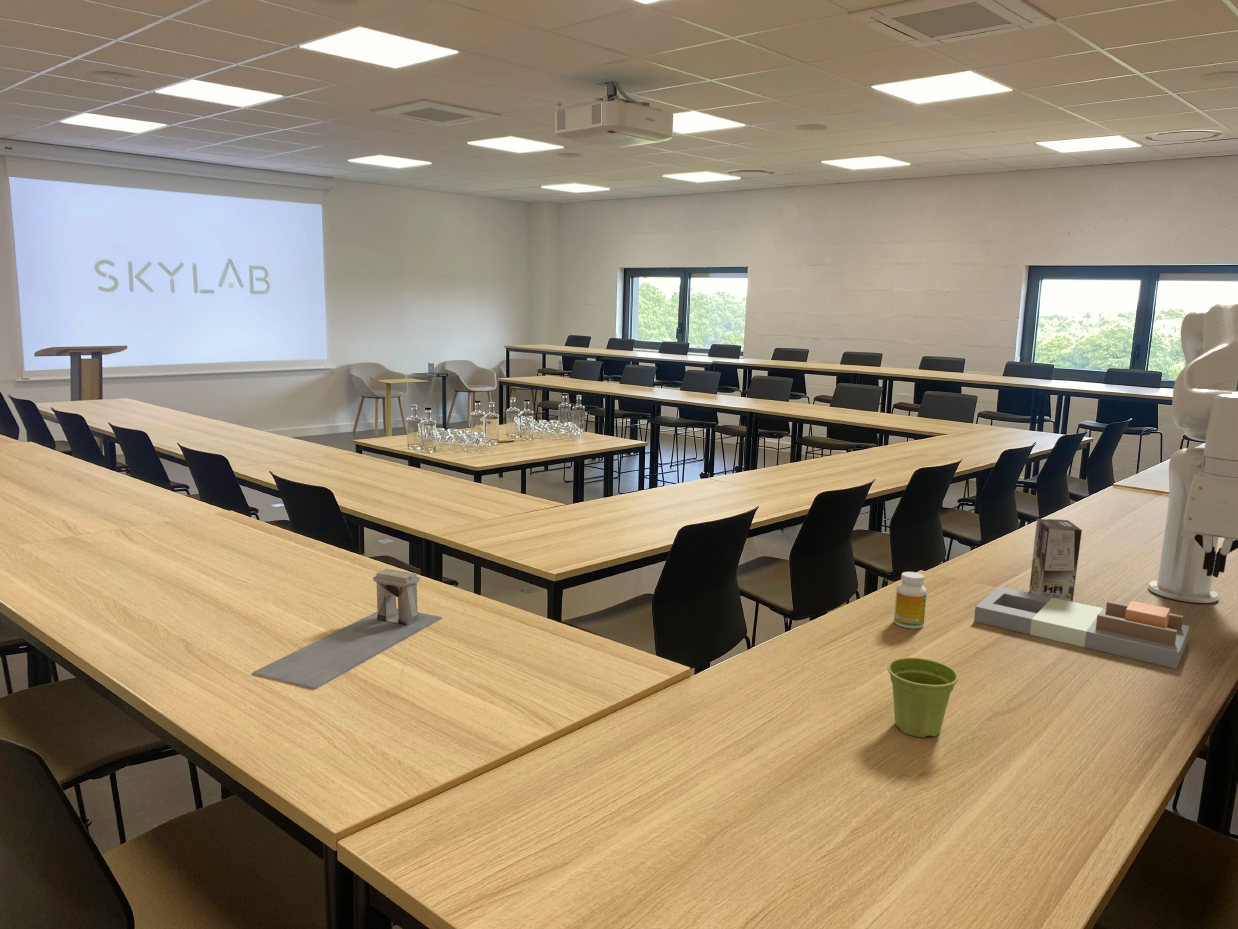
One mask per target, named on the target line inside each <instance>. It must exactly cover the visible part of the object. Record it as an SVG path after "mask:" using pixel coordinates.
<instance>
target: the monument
mask: <svg viewBox="0 0 1238 929" xmlns="http://www.w3.org/2000/svg"><path fill="white" fill-rule="evenodd" d="M375 575H376V576H373V578H372V580H373V582H375V583H376V604H377V605H376V606H377V607H376V608H377V611H375V612H373V613H371V614H369V615H367V616H365V617H363V618H360V619H358V620H357V621H354V622H353V623H350V624H349V625H347V626H345V627H342V628H340V629H338V630H336V631H334V632H332V633H330V634H328V635H326V636H324V637H322V638H320V639H318V640H316V641H314V642H311V643H310V644H308V645H306V646H304V647H301V648H300V649H298V650H295V651H293V652H291V653H289V654H288V655H286V656H285V655H284V656H283V657H281V658H279V659H277V660H275V661H273V662H271V663H268V664H267V665H264V666H263V667H261V668H258V669H257V670H255V671H253V672H252V675H254V676H259V677H263V678H266V679H271V680H275V681H278V682H284V683H286V684H287V683H288V684H291V685H296V686H300V687H303V688H307V689H311V690H317V689H319V688H321V687H322V686H324V685H326V684H328V683H329V682H331V681H333V680H335V679H337V678H338V677H340V676H342V675H343V674H345V673H347V672H350V671H351V670H353V669H354V668H356V667H358V666H359V665H361V664H364V663H365V662H367V661H369V660H371V659H372V658H375V657H376V656H378V655H379V654H382V653H384V652H385V651H387V650H388V649H390V648H393V646H396V645H397V644H399V643H401V642H403V641H405V640H406V639H408V638H410V637H411V636H414V635H415V634H417V633H419V632H420V631H423V630H424V629H426V628H428V627H430V626H432V625H433V624H435V623H437V622H438V621H440V620H441V619H443V616H439V615H433V614H430V613H422V612H418V584H417V583H419V582H420V580H421V577H420V576H417V573H416V572H415V573H414V572H413V573H412V572H410V571H409V572H408V571H402V570H396V569H390V568H386V569H384V570H381V571H379V572H376V574H375Z"/></svg>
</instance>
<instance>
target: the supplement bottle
mask: <svg viewBox="0 0 1238 929" xmlns="http://www.w3.org/2000/svg"><path fill="white" fill-rule="evenodd" d="M900 581H901V583H899V584H898V585H897V586H896V591H895V602H894V614H893V615H894V616H893V622H894V624H896V625H897V626H899V627H901V628H905V629H913V630H915V629H921V628H923V627H924V624H925V614H926V602H927V591H928V590H927V588H926V587H925V586H924V585H923V584H924V582H925V576H924V574H922V573H919V572H914V571H904V572H902V573H901V578H900Z"/></svg>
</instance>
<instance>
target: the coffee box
mask: <svg viewBox="0 0 1238 929" xmlns="http://www.w3.org/2000/svg"><path fill="white" fill-rule="evenodd" d="M1035 523H1036V524H1035V535H1034V540H1033V541H1034V543H1033V553H1032V561H1031V571H1030V572H1031V573H1030V579H1029V580H1030V581H1029V590H1028V591H1029V593H1032V594H1037V595H1042V596H1047V597H1052V598H1056V599H1061V600H1066V601H1071V602H1074V601H1073V600H1074V594H1075V586H1076V578H1077V570H1078V562H1079V561H1078V560H1079V555H1080V548H1081V547H1080V546H1081V540H1082V533H1083V529H1081V528H1080V527H1078V526H1076V524H1074V523H1073V522H1072V521H1070V520H1067V519H1055V518H1054V519H1052V518H1049V519H1047V518H1036V522H1035Z"/></svg>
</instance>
